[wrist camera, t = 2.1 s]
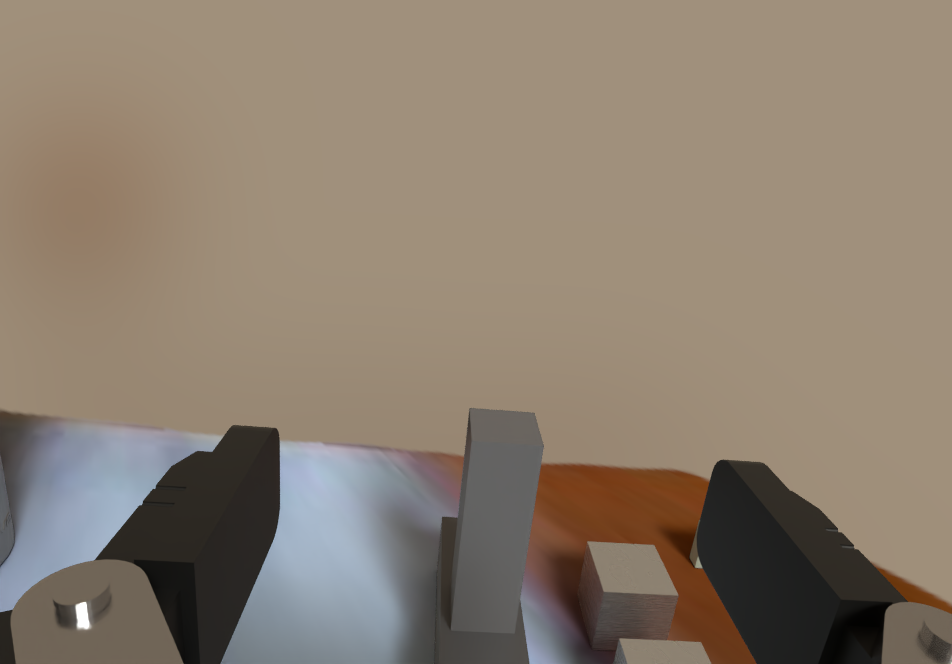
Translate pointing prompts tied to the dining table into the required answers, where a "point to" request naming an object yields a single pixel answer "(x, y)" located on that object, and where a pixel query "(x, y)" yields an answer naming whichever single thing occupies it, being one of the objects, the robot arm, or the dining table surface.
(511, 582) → the gray t-shaped block
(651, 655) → the beige cube
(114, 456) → the dining table surface
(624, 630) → the grey cube block
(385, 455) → the dining table surface
